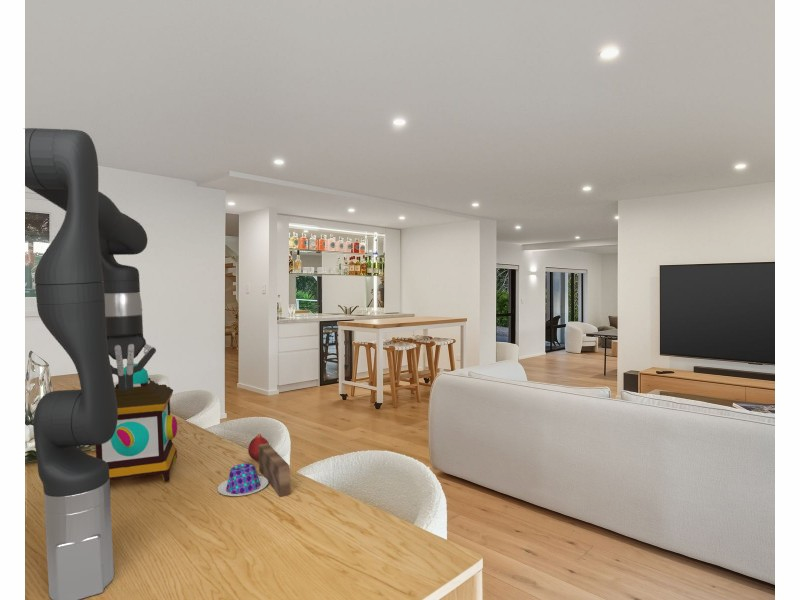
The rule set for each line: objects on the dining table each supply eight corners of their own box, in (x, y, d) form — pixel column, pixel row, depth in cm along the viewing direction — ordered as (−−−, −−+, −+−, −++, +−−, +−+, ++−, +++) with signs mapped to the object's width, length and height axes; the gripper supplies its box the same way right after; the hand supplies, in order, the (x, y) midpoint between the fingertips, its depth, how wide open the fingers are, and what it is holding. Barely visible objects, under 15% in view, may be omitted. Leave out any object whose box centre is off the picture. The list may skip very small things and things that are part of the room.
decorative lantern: (182, 457, 141) (178, 355, 140) (174, 484, 123) (169, 366, 121) (104, 467, 135) (99, 360, 134) (83, 497, 116) (76, 373, 115)
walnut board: (290, 494, 115) (289, 465, 115) (279, 497, 114) (279, 467, 114) (268, 468, 132) (267, 443, 131) (259, 470, 131) (258, 444, 130)
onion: (248, 466, 133) (247, 437, 133) (249, 459, 139) (248, 431, 139) (270, 464, 135) (269, 435, 135) (270, 456, 141) (269, 429, 140)
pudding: (254, 474, 129) (253, 454, 129) (277, 487, 120) (276, 466, 120) (209, 488, 121) (208, 467, 120) (230, 503, 112) (230, 481, 112)
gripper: (86, 316, 100) (90, 399, 101) (157, 312, 107) (160, 390, 108) (87, 314, 107) (91, 392, 107) (155, 311, 113) (158, 384, 114)
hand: (126, 391), depth 108 cm, fingers closed
